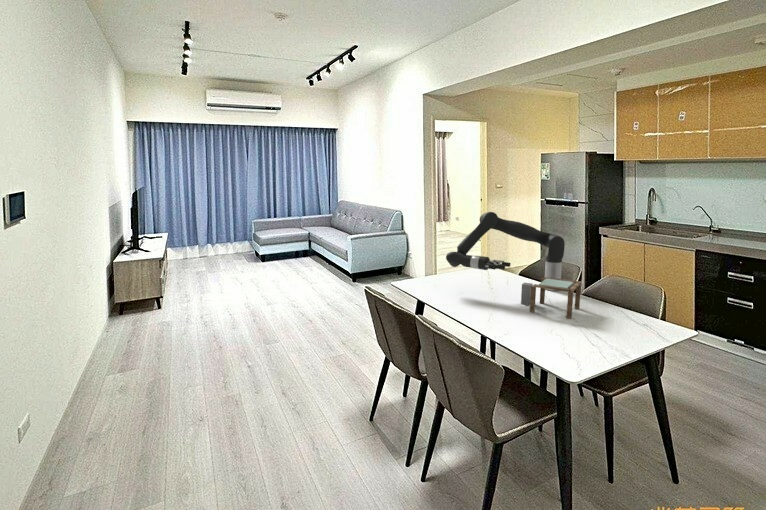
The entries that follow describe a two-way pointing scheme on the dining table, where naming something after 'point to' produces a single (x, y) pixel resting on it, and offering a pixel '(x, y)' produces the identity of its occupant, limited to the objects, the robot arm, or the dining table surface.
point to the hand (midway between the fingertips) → (507, 266)
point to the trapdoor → (557, 283)
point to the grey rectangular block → (526, 293)
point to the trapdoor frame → (570, 291)
